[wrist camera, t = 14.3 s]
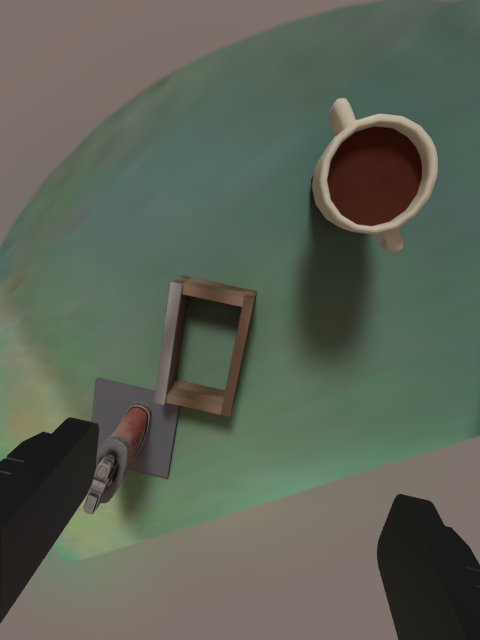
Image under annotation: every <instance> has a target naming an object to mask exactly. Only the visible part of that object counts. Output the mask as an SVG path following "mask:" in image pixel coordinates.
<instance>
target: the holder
mask: <svg viewBox="0 0 480 640" xmlns="http://www.w3.org/2000/svg"><path fill="white" fill-rule="evenodd" d="M256 292H257V291H252V290H248V289H243V288H238V287H233V286H229V285H224V284H219V283H214V282H210V281H205V280H200V279H195V278H191V277H186V276H180V277H179V278H178V279H176V280H175V281H173V282H171V284H170V292H169V299H168V306H167V313H166V320H165V328H164V335H163V342H162V349H161V356H160V363H159V371H158V378H157V385H156V392H155V399H154V403H158V404H163V405H164V404H165V403H170V404H175V405H179V406H184V407H188V408H192V409H197V410H201V411H206V412H210V413H215V414H219V415H223V416H228V417H230V413H231V409H232V405H233V401H234V396H235V391H236V387H237V382H238V377H239V372H240V368H241V363H242V358H243V353H244V349H245V344H246V339H247V334H248V330H249V325H250V320H251V315H252V311H253V306H254V301H255V296H256ZM188 296H193V297H198V298H202V299H207V300H212V301H217V302H221V303H226V304H231V305H235V306H240V307H242V310H241V315H240V320H239V325H238V330H237V335H236V340H235V345H234V350H233V355H232V360H231V365H230V370H229V375H228V380H227V384H226V389H225V391H224V390H219V389H215V388H210V387H206V386H201V385H197V384H192V383H188V382H184V381H179V380H175V378H176V371H177V365H178V358H179V352H180V345H181V339H182V332H183V326H184V320H185V313H186V307H187V300H188Z"/></svg>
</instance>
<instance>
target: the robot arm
mask: <svg viewBox="0 0 480 640" xmlns="http://www.w3.org/2000/svg"><path fill="white" fill-rule="evenodd" d="M98 438H99V425H98V424H97V423H93V422H89V421H84V420H80V419H76V418H71V417H70V418H67V419H66V420H65V421H64V422H63V423H62V424H61V425H60V426H59V427H58V428H57V429H56V430H55V431H54V432H53V433H52V434H50V433H46V432H42V433H39V434H37V435H35V436H33V437H31V438H29V439H27V440H25V441H23V442H22V443H21V444H19V445H18V446H17V447H16V448H15V449H14V450H13V451H12V452H11V453H10V454H8V455H7V458H6V459H3V460H2V461H1V462H0V623H1V622H2V620H3V619H4V617H5V616H6V614H7V613H8V611H9V610H10V608H11V607H12V605H13V604H14V603H15V601H16V599H17V598H18V596H19V595H20V594H21V592H22V590H23V589H24V588H25V586H26V585H27V583H28V582H29V580H30V579H31V577H32V576H33V574H34V573H35V571H36V570H37V568H38V567H39V565H40V564H41V562H42V561H43V559H44V558H45V556H46V555H47V553H48V552H49V550H50V549H51V547H52V546H53V544H54V543H55V542H56V540H57V539H58V537H59V536H60V534H61V533H62V531H63V530H64V528H65V527H66V525H67V524H68V522H69V521H70V519H71V518H72V516H73V515H74V513H75V512H76V510H77V509H78V507H79V506H80V504H81V503H82V501H83V500H84V498H85V497H86V495H87V494H88V492H89V490H90V487H91V485H92V482H93V479H94V475H95V470H96V459H97V448H98ZM377 561H378V567H379V570H380V574H381V578H382V581H383V585H384V589H385V592H386V596H387V599H388V603H389V606H390V611H391V614H392V617H393V621H394V625H395V629H396V632H397V636H398V640H480V565H479V563H478V561H477V559H476V558H475V556H474V554H473V552H472V550H471V549H470V547H469V546H468V545H467V544H466V543H465V542H464V541H463V540H462V539H461V537H460V536H459V535H458V534H457V533H456V532H455V531H454V530H453V529H452V528H451V527H446V526H445V525H444V524H443V522H442V520H441V518H440V516H439V514H438V512H437V510H436V508H435V507H434V505H433V503H432V502H431V501H428V500H424V499H420V498H416V497H411V496H407V495H403V494H399V495H397V496H396V498H395V499H394V502H393V504H392V507H391V509H390V512H389V514H388V517H387V520H386V522H385V525H384V527H383V530H382V532H381V535H380V538H379V541H378V547H377Z"/></svg>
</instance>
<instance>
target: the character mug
mask: <svg viewBox="0 0 480 640" xmlns="http://www.w3.org/2000/svg"><path fill="white" fill-rule="evenodd" d="M329 119H330V122H331V125H332V128H333V130H334V132H335V135H336V137H335V138H334V139H333V140H332V141H331V143H330V144H329V145H328V147H327V148H326V149H325V151H324V153H323V154H322V156H321V158H320V159H319V161H318V163H317V164H316V166H315V171H314V175H313V177H312V179H311V198H312V200H313V202H314V205H315V207H316V209H317V210H318V211H319V212H320V213H321V214H322V215H323V216H324V217H325V218H326V219H327V220H328V221H330V222H332V223H333V224H335V225H337V226H338V227H340V228H342V229H345V230H348V231H351V232H357V233H364V234H372V235H376V237H377V240H378V242H379V244H380V246H381V247H382V248H383V249H384V250H386V251H388V252H391V253H398V252H399V251H400V250H401V249H402V248H403V242H402V238H401V236H400V233H399V230H398V229H399V228H400V227H401V226H403V225H404V224H406V223H407V222H408V221H410V220H411V219H412V218H414V217H415V216H417V215H418V213H419V212H420V210H421V209H422V208H423V206H424V205H425V203H426V202H427V201H428V199H429V198H430V196H431V194H432V191H433V188H434V185H435V181H436V178H437V175H438V157H437V153H436V148H435V146H434V144H433V142H432V140H431V138H430V137H429V135H428V134H427V133H426V132H425V131H424V129H423V128H422V127H421V126H420V125H418V124H416V123H414V122H412V121H410V120H409V119H407V118H405V117H403V116H397V115H387V114H377V115H373V116H370V117H366V118H363V119H360V120H356V119H355V116H354V114H353V111H352V108H351V106H350V104H349V102H348V101H347V100H346V99H345V98H340V99H337V100H336V101H335V103H334V104H333V105H332V107H331V109H330V111H329Z"/></svg>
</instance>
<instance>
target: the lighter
mask: <svg viewBox="0 0 480 640" xmlns="http://www.w3.org/2000/svg"><path fill="white" fill-rule="evenodd" d="M151 416H152V410H151V408H150V407H149V406H148V405H147V404H145V403H143V402H135V403H133V404H132V405H131V406H130V407H129V409H128V410H127V412H126V414H125V415H124V417H123V418H122V420H121V422H120V424H119V425H118V427H117V428H116V429H115V431H114V432H113V433H112V435H110V436H108V437H107V438H106V439H105V441H104V442H103V443H102V445H101V447H100V448H99V450H98V451H97V459H96V470H95V475H94V479H93V482H92V485H91V487H90V490H89V492H88V494H87V498H86V501H85V504H84V507H83V509H84V512H85V513H87V514H94V512H95V511H96V509H97V508H98V506H99V504H100V503H107V502H109V501H110V499H111V498H112V497H113V495H114V494H115V492H116V491H117V489H118V487H119V485H120V483H121V481H122V479H123V477H124V475H125V472H126V470H127V468H128V466H129V465H130V463H131V461H132V460H134V458H135V457H136V455H137V454H138V452H139V451H140V449H141V447H142V446H143V443H144V441H145V439H146V437H147V435H148V431H149V428H150V423H151Z"/></svg>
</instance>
